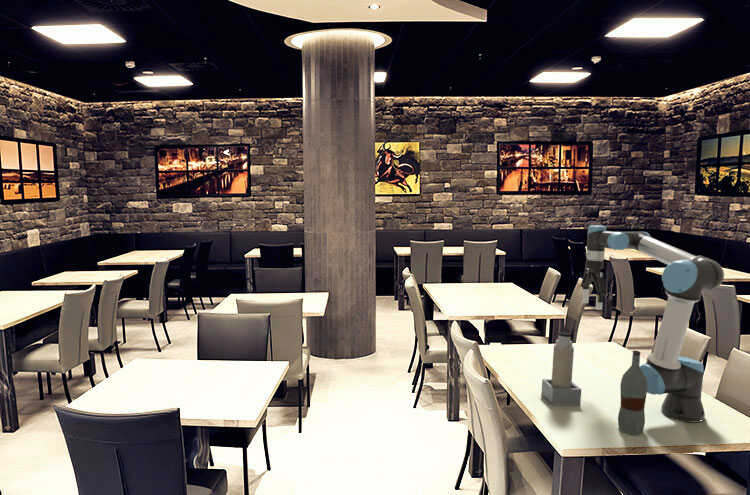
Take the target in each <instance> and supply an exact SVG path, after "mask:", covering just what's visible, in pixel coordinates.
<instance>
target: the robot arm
mask: <svg viewBox="0 0 750 495" xmlns="http://www.w3.org/2000/svg"><path fill="white" fill-rule="evenodd" d="M586 235H587V237H586V238H587V240H586V252H585V255H586V257H585V258H586V261H585V268H584V273H583V276H582V279H581V283H580V287H581V288H582V298H581V304H589V298H590V286H591V284H592V282H593V283H594V286H595V290H596V294H595V295H596V296H595V310H596V311H599V310H601V311H602V310H603V301H604V296H606V295H607V289H606V282H605V273H604V272H602V271H601V270H603V269H604V267H605V266H604V264H605V262H604V260H605V251H606V249H610V250H613V251H614V250H615V251H623V250H636V251H637V252H640V253H642V254H644V255H646V256H648V257H650V258H653V259H655V260H657V261H659V262H661V263H663V264H665V265H666V267H665V268H664V269H663V271H662V274H661V282H662V283H663V284H662V285H663V287H664V289H665V290H664V291H665V294H666V295H667V300H666V304H665V309H664V312H663V317H662V320H661V324H660V327H659V330H658V334H657V338H656V342H655V345H654V349H653V352H652V353H649V354H648V355H647V358H646V362H645V363H642V364H640V365H639V367H640V368H641V370H642V372H643V373H644V375H645V377H646V379H647V386H648V390H647V394H649V395H659V396H662V395H663V394H666V396H665V398H664V400H663V402H662V404H661V408H660V409H661V410H660V411H661V413H662V414H663V415H664V416H665V417H668V418H670V417H671V419H673V418H674V419H673V420H676V419H678V420H677V421H680V420H684V421H683V422H685V421H700V420H703V419H704V420H705V416H706V414H705V409H704V406H703V401H702V390H703V382H704V374H705V371H704V364H703V363H702V361H701V362H700V361H699V360H697V359H693V358H690V357H686V356H681V355H680V354H681V350H682V347H683V344H684V340H685V337H686V333H687V329H688V326H689V321H690V319H691V315H692V312H693V309H694V305H695V303H698V302H699V301H701V298H702V295H703V292H710V291H713V290H715V289H717V288H719V286H721V285H722V283H723V281H724V279H725V272H724V269H723V268H722V265H720V264H719V263H718V262H717V261H715V260H713V259H711V258H709V257H707V256H706V257H705V256H703V255H694V254H692V253H689V252H687V251H685V250H683V249H680V248H677V247H675V246H672V245H671V244H667V243H666V242H663V241H660V240H658V239H656V238H654V237H652V236H651V235H650V233H648V232H647V231H642V230H641V231H640V230H639V231H609V230H607V227H606V226H605V225H594V224H593V225H589V226H588V228H587V234H586Z"/></svg>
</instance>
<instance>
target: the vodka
mask: <svg viewBox="0 0 750 495" xmlns="http://www.w3.org/2000/svg"><path fill="white" fill-rule="evenodd" d="M640 361H641V351H639V350H632V358H631V365H630V366H629V367H628V369H626V371H624V373H623V374H622V377H621V381H620V406H619V411H618V415H617V425H618V429H619V430H620V432H623V433H625V434H627V433H628V434H627V435H631V434H633V436H638V435H639V434H640V435H642V434H643V432H644V428H645V424H646V418H645V416H646V415H645V407H646V406H645V405H646V399H647V394H648V393H647V390H648V386H647V379H646V377H645V375H644V373H643V372H642V370H641V368H640V367H639V366H640V365H641V364H640ZM640 435H639V436H640Z"/></svg>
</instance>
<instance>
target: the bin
mask: <svg viewBox="0 0 750 495" xmlns="http://www.w3.org/2000/svg"><path fill="white" fill-rule="evenodd" d="M541 380H542V381H541V382H542V383H541V396H542V397H543V398H544V399H545V401H547V402H548V404H549V405H551V406H552V407H553V406H555V407H557V406H558V407H566V406H567V407H581V400H582V399H581V398H582V388H580V386H578V385H577V384H576V383H575V382H574V381H572V385H571V388H554V387H553V386H552V385H551V384H552V378H551V379H548V378H543V379H541Z"/></svg>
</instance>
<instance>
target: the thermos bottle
mask: <svg viewBox="0 0 750 495" xmlns="http://www.w3.org/2000/svg"><path fill="white" fill-rule="evenodd" d="M557 336H558V337H557V339H556V340H555V344H554V345H553V355H552V368H551V370H552V371H551V379H552V384H551V385H552V386H553V387H554V388H571V385H572V382H573V368H574V355H575V354H574V352H575V347H574V346H573V345H574V344H573V341H572V339H571V336H572V334H571V333H570V332H565V331H560V332H558V335H557Z"/></svg>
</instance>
